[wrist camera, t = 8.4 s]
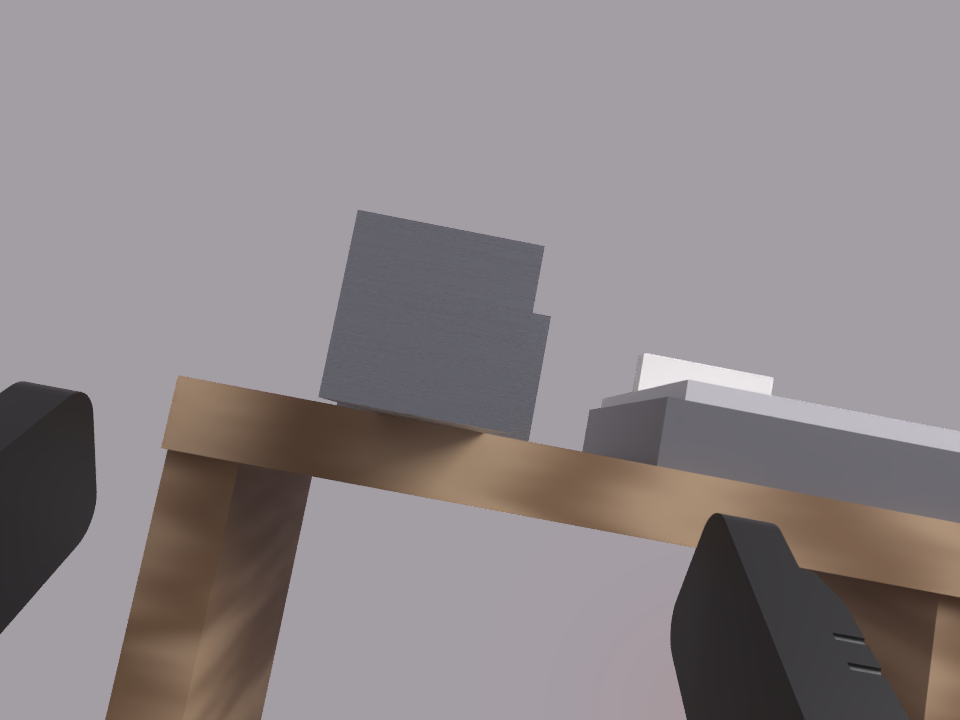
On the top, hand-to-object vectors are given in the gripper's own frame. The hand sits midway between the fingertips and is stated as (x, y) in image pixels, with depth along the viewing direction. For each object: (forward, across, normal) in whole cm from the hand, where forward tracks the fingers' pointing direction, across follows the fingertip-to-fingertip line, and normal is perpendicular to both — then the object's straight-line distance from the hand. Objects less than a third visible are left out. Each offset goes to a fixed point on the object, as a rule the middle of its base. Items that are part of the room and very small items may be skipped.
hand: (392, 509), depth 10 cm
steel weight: (+11, 0, +5) cm, 12 cm away
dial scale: (+15, -12, +8) cm, 21 cm away
